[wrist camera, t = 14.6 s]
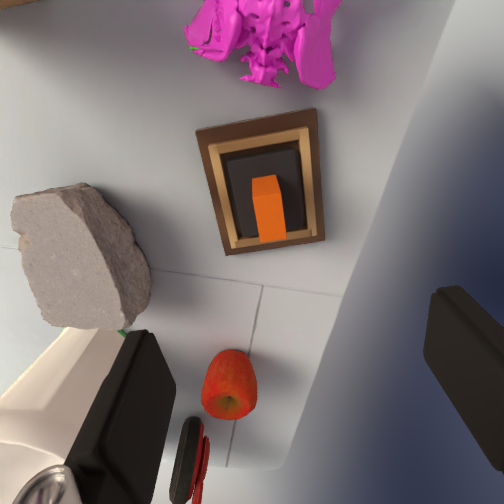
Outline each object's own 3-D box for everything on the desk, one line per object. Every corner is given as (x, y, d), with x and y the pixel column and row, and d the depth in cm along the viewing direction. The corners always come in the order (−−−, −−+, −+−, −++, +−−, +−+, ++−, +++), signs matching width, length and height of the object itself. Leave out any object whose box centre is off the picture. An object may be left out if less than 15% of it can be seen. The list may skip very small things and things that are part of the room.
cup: (154, 379, 41) (108, 520, 28) (60, 378, 41) (-33, 520, 28) (140, 305, 35) (73, 439, 22) (30, 303, 35) (-105, 437, 22)
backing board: (197, 129, 26) (193, 132, 25) (313, 107, 26) (318, 109, 24) (226, 250, 32) (225, 261, 30) (322, 235, 31) (327, 245, 29)
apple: (248, 333, 38) (248, 386, 31) (262, 367, 40) (264, 422, 34) (200, 344, 38) (190, 397, 32) (216, 376, 41) (210, 432, 35)
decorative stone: (107, 310, 36) (181, 283, 34) (75, 356, 30) (163, 327, 28) (15, 198, 30) (99, 156, 28) (-48, 228, 24) (52, 177, 21)
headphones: (89, 428, 46) (-9, 638, 29) (89, 384, 42) (-27, 602, 24) (205, 443, 48) (179, 648, 31) (217, 404, 44) (194, 618, 26)
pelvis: (184, 67, 24) (164, 62, 18) (198, -102, 20) (176, -180, 14) (330, 100, 25) (354, 104, 20) (373, -54, 21) (421, -107, 15)
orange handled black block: (227, 157, 26) (221, 177, 21) (292, 146, 26) (304, 163, 20) (242, 231, 30) (241, 265, 24) (300, 221, 29) (313, 254, 24)
